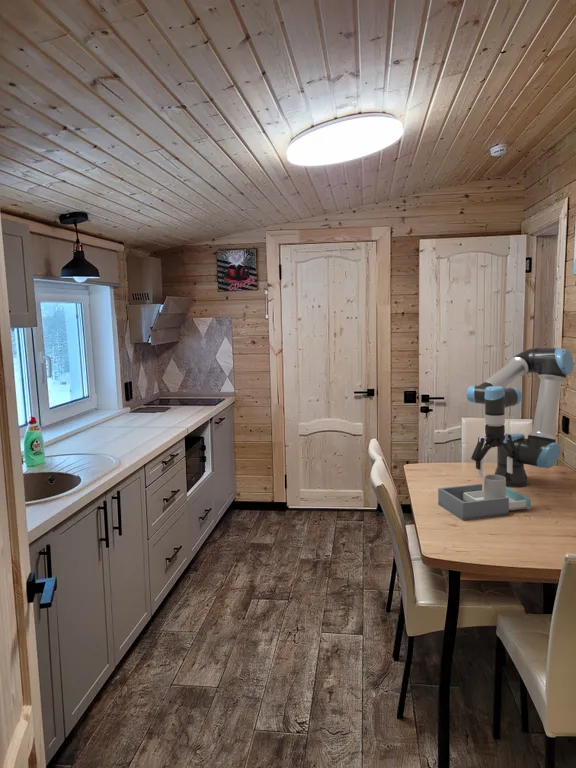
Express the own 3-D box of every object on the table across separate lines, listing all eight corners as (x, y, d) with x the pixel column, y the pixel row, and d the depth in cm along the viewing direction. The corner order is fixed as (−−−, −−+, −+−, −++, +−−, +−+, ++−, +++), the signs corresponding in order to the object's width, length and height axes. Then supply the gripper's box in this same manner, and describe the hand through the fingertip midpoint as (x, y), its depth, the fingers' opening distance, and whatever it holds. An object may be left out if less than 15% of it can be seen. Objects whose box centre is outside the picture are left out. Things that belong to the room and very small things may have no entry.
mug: (504, 507, 223) (504, 481, 222) (482, 505, 227) (482, 479, 226) (508, 498, 233) (508, 473, 232) (487, 496, 238) (487, 471, 236)
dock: (480, 499, 240) (480, 483, 239) (508, 515, 221) (508, 497, 220) (438, 504, 236) (438, 488, 235) (463, 520, 216) (463, 503, 215)
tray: (502, 494, 241) (502, 485, 241) (530, 508, 223) (530, 498, 223) (461, 499, 237) (461, 489, 237) (486, 514, 219) (486, 503, 218)
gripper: (516, 419, 232) (516, 468, 235) (462, 425, 227) (462, 475, 230) (527, 423, 225) (527, 473, 228) (472, 429, 220) (472, 480, 223)
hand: (495, 474), depth 229 cm, fingers open, 13 cm apart
